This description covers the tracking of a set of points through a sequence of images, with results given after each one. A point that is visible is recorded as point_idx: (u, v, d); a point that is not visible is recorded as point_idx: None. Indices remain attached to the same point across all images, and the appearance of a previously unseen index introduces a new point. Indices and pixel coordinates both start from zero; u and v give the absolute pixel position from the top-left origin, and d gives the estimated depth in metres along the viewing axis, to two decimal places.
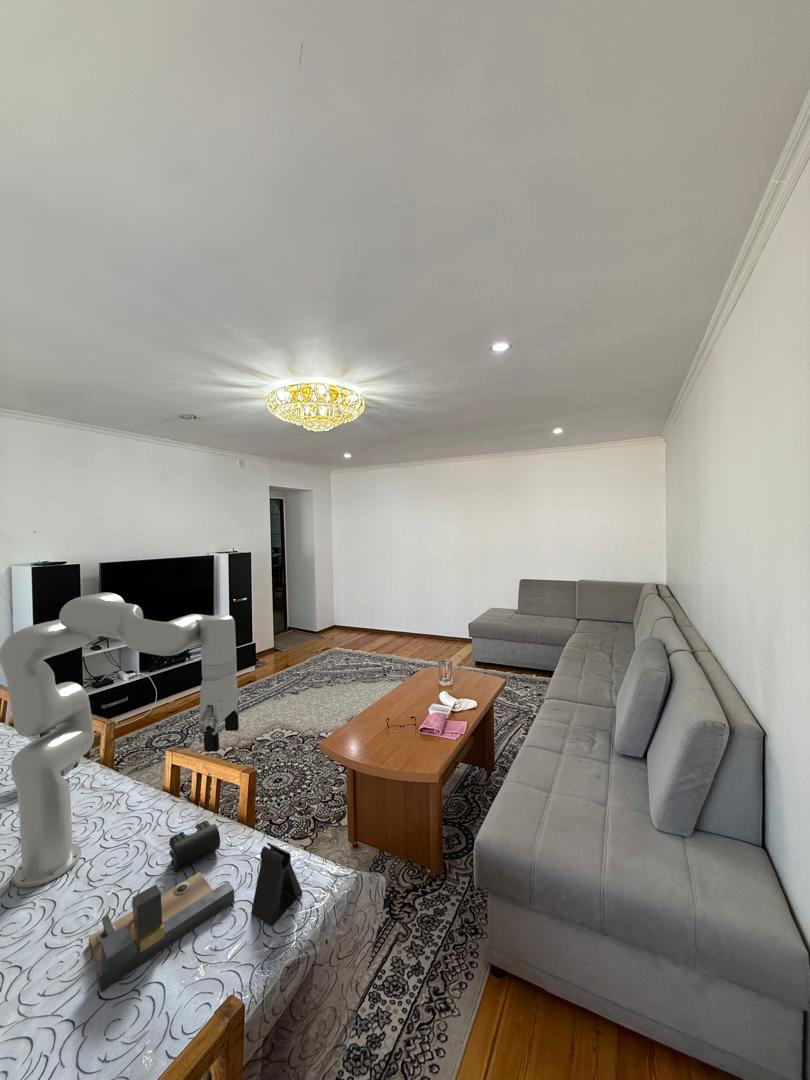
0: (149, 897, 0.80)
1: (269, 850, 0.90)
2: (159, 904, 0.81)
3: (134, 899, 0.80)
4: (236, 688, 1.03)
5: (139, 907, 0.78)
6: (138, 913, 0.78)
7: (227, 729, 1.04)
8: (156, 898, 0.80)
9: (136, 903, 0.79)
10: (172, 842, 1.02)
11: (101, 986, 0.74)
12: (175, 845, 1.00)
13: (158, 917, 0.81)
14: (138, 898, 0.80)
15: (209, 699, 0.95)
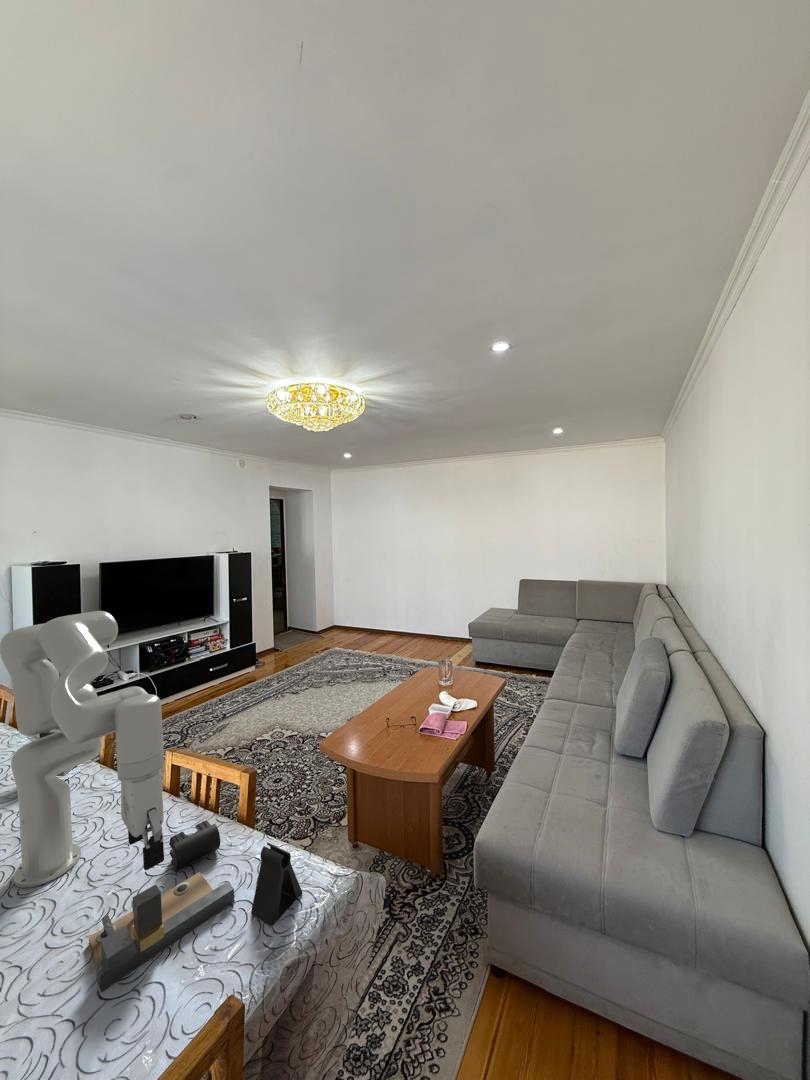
0: (149, 897, 0.80)
1: (269, 850, 0.90)
2: (159, 904, 0.81)
3: (134, 899, 0.80)
4: None
5: (139, 907, 0.78)
6: (138, 913, 0.78)
7: (133, 841, 0.83)
8: (156, 898, 0.80)
9: (136, 903, 0.79)
10: (172, 842, 1.02)
11: (101, 986, 0.74)
12: (175, 845, 1.00)
13: (158, 917, 0.81)
14: (138, 898, 0.80)
15: (150, 801, 0.77)
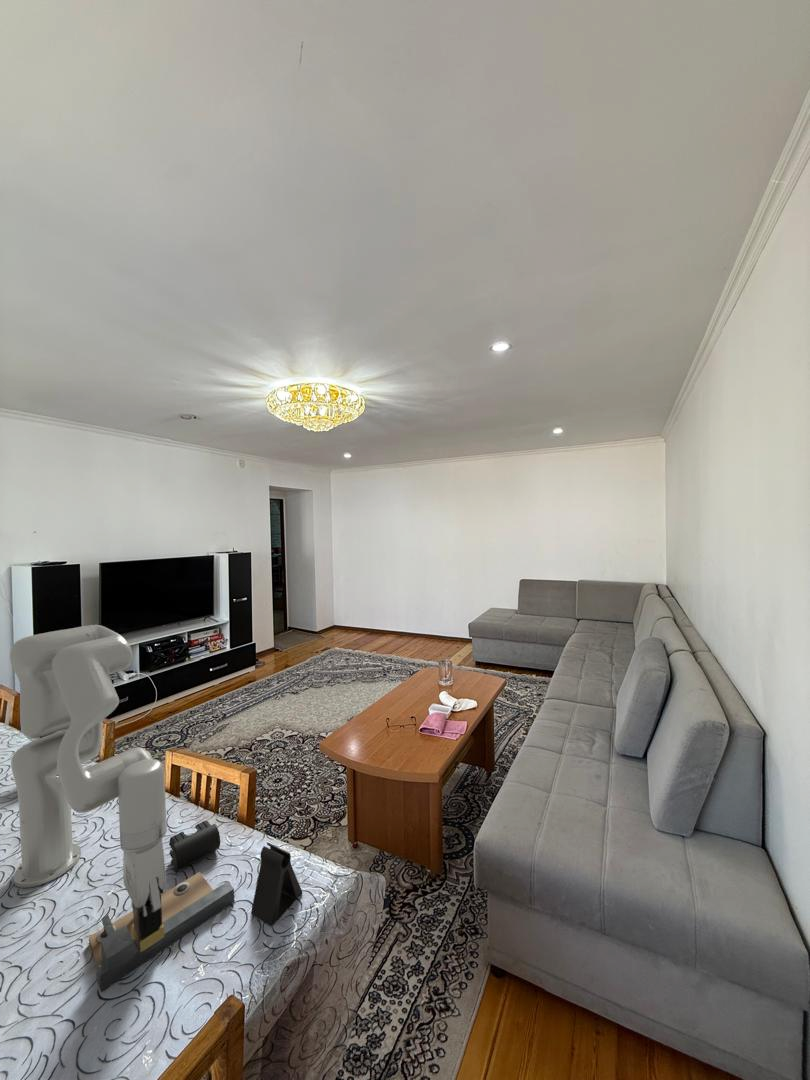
0: None
1: (269, 850, 0.90)
2: None
3: None
4: None
5: None
6: (138, 913, 0.78)
7: None
8: None
9: None
10: (172, 842, 1.02)
11: (101, 986, 0.74)
12: (175, 845, 1.00)
13: None
14: None
15: (153, 871, 0.77)
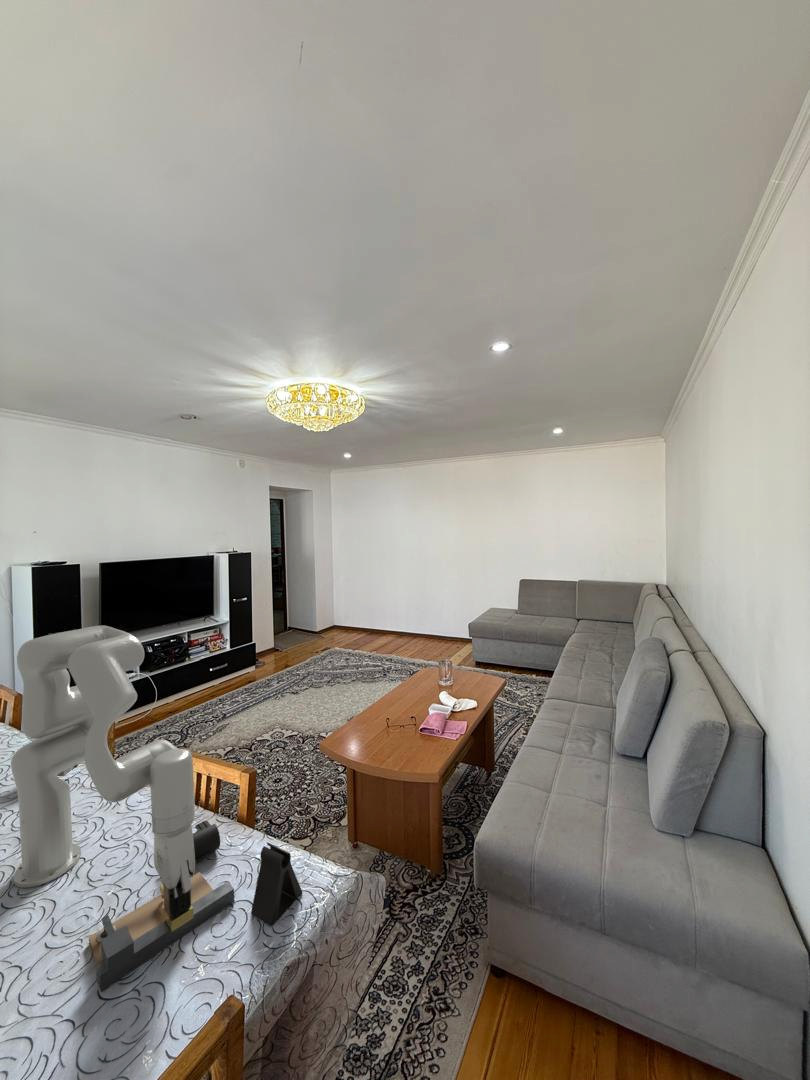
0: None
1: (269, 850, 0.90)
2: None
3: None
4: None
5: (170, 889, 0.82)
6: (169, 895, 0.82)
7: None
8: None
9: None
10: None
11: (101, 986, 0.74)
12: None
13: None
14: None
15: (183, 855, 0.81)
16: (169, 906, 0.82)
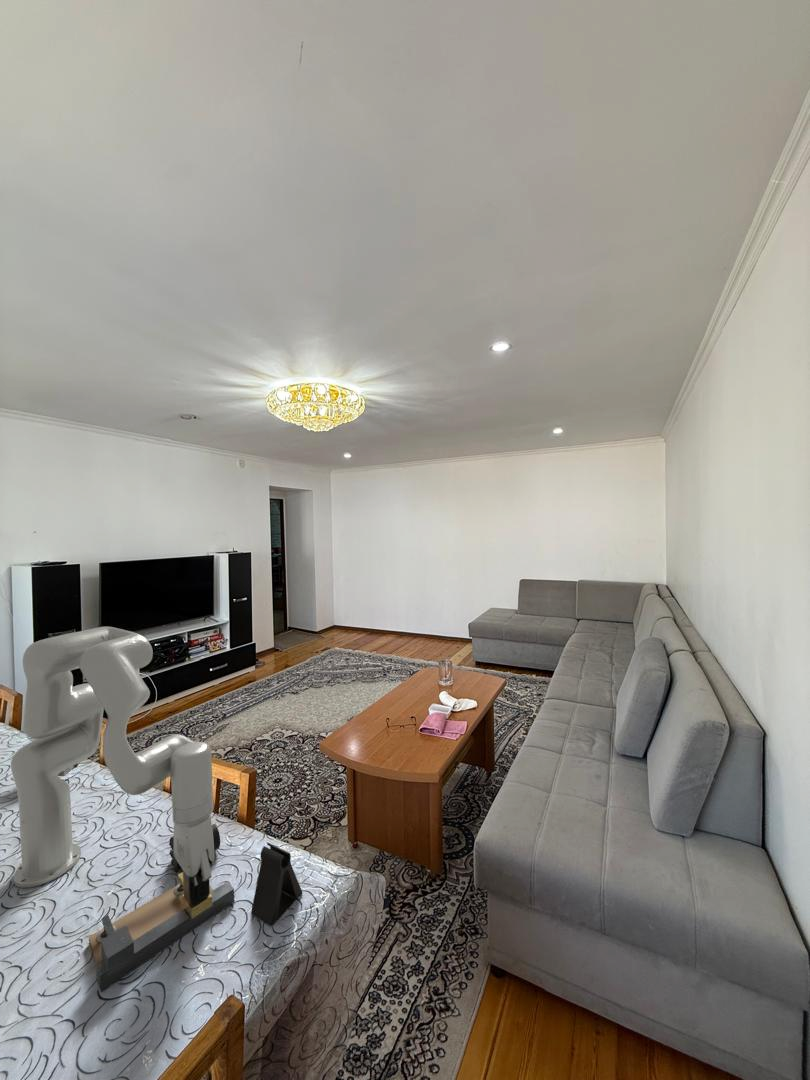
0: None
1: (269, 850, 0.90)
2: None
3: None
4: None
5: (190, 877, 0.85)
6: (189, 883, 0.85)
7: None
8: None
9: None
10: (172, 842, 1.02)
11: (101, 986, 0.74)
12: None
13: None
14: None
15: (203, 844, 0.84)
16: (189, 894, 0.85)
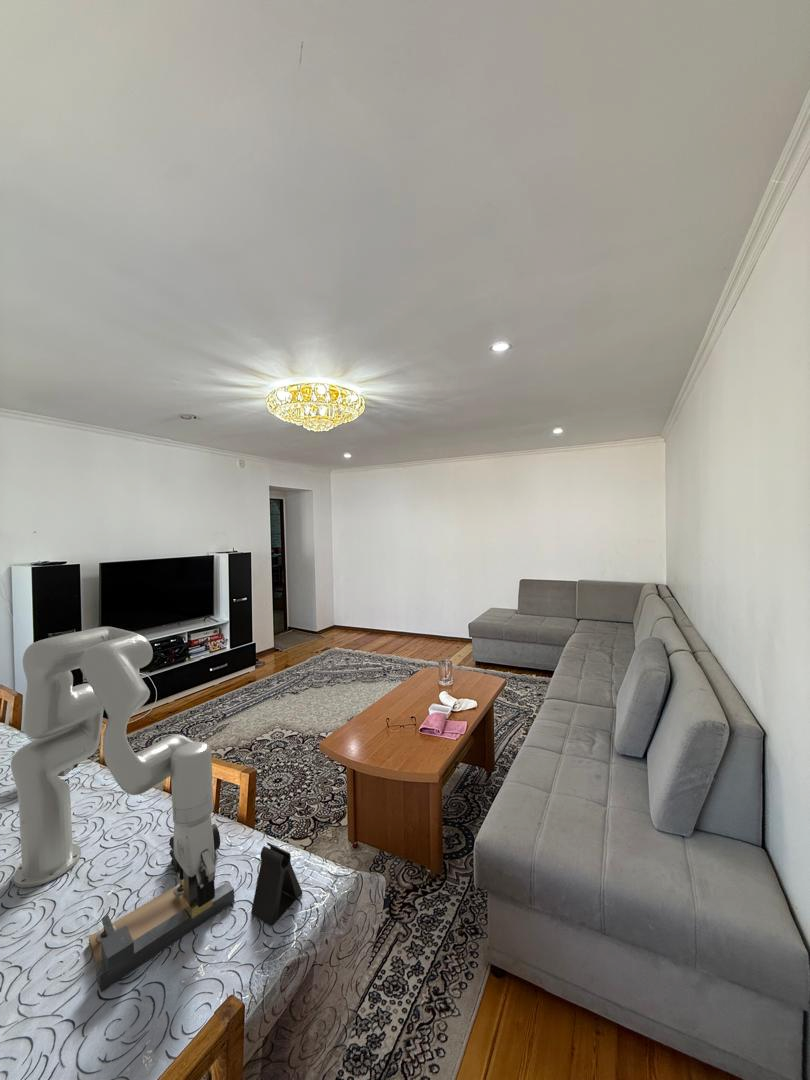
0: None
1: (269, 850, 0.90)
2: None
3: None
4: None
5: (190, 877, 0.85)
6: (189, 883, 0.85)
7: None
8: None
9: None
10: (172, 842, 1.02)
11: (101, 986, 0.74)
12: None
13: None
14: None
15: (203, 844, 0.84)
16: (189, 894, 0.85)
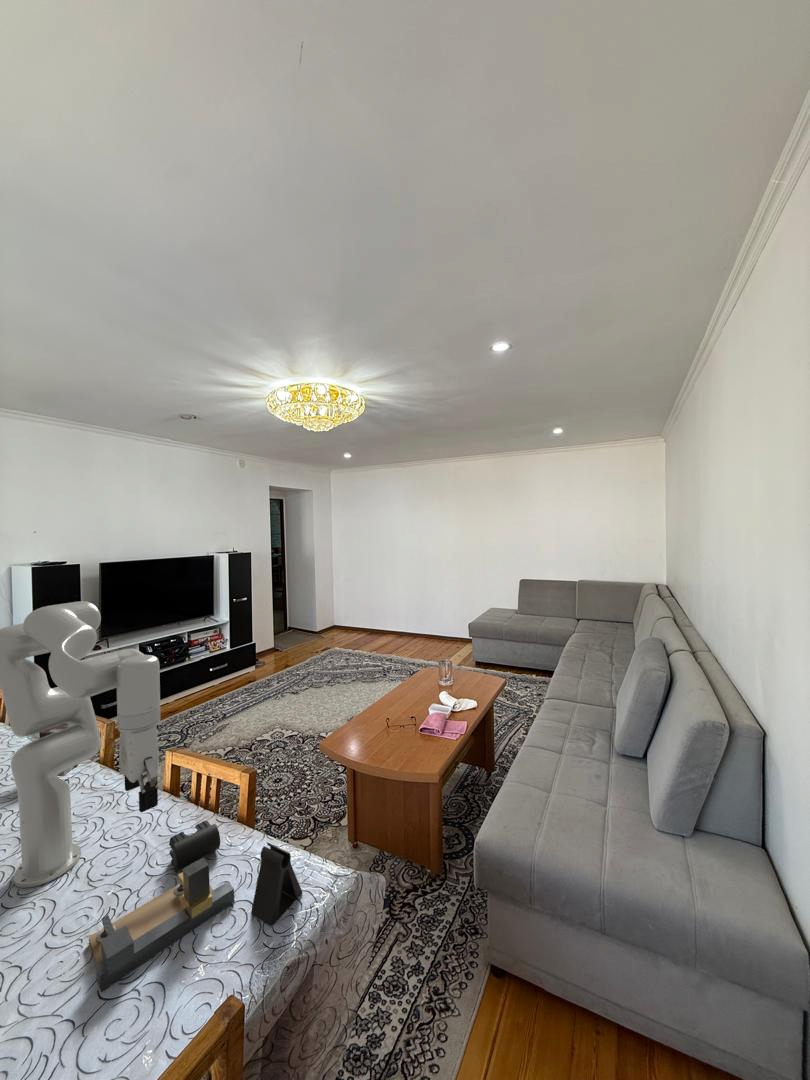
0: (198, 868, 0.87)
1: (269, 850, 0.90)
2: (207, 875, 0.87)
3: (185, 870, 0.86)
4: None
5: (190, 877, 0.85)
6: (189, 883, 0.85)
7: (129, 788, 0.90)
8: (204, 869, 0.87)
9: (187, 874, 0.85)
10: (172, 842, 1.02)
11: (101, 986, 0.74)
12: (175, 845, 1.00)
13: (206, 887, 0.87)
14: (188, 869, 0.86)
15: (147, 751, 0.84)
16: (189, 894, 0.85)
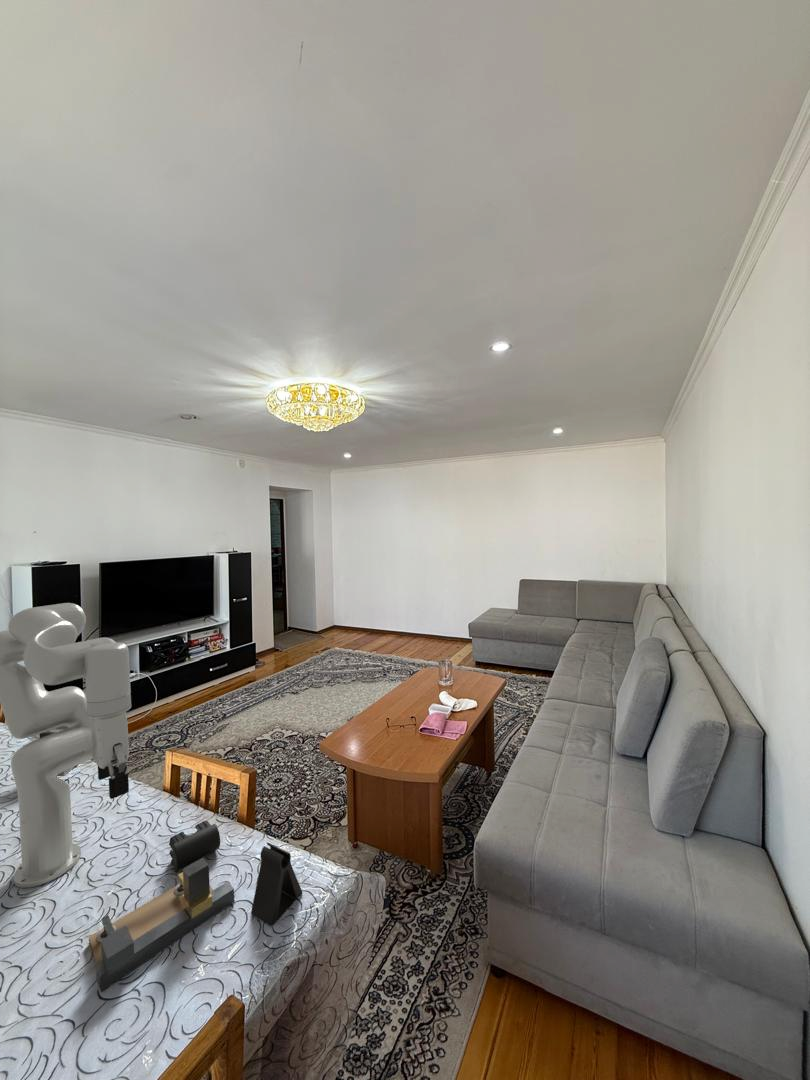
0: (198, 868, 0.87)
1: (269, 850, 0.90)
2: (207, 875, 0.87)
3: (185, 870, 0.86)
4: None
5: (190, 877, 0.85)
6: (189, 883, 0.85)
7: (102, 777, 0.90)
8: (204, 869, 0.87)
9: (187, 874, 0.85)
10: (172, 842, 1.02)
11: (101, 986, 0.74)
12: (175, 845, 1.00)
13: (206, 887, 0.87)
14: (188, 869, 0.86)
15: (116, 737, 0.84)
16: (189, 894, 0.85)
